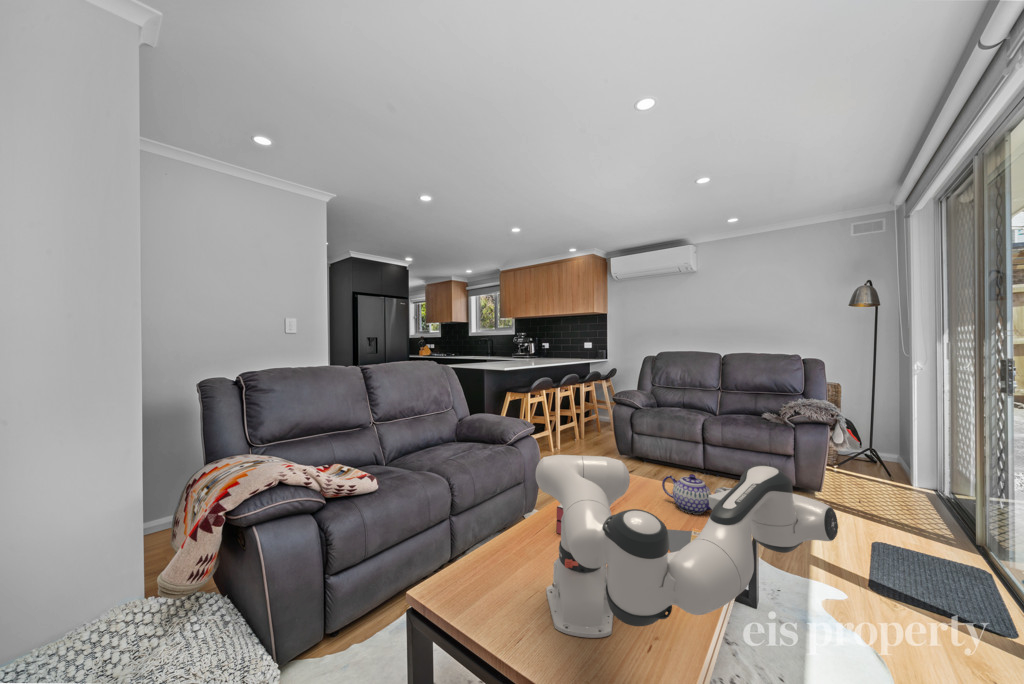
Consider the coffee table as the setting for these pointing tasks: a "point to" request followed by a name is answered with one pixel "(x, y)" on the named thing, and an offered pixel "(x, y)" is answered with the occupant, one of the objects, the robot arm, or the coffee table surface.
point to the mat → (678, 539)
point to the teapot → (690, 494)
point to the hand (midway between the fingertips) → (719, 490)
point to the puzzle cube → (559, 518)
